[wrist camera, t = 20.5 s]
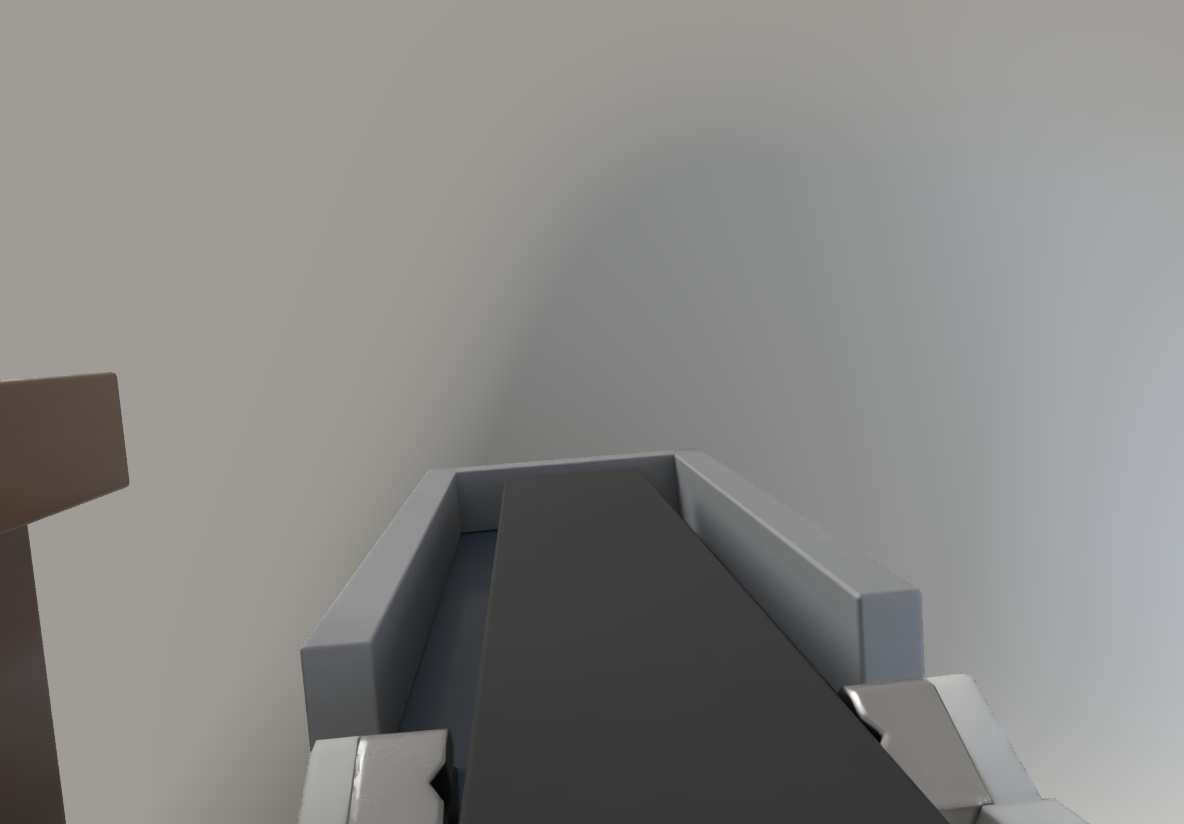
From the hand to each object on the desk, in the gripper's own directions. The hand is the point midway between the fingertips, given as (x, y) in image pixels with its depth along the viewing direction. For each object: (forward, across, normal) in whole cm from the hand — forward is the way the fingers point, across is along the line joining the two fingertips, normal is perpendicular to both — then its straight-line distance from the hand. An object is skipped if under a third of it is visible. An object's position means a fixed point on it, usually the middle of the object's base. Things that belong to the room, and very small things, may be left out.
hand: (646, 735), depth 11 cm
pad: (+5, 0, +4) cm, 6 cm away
